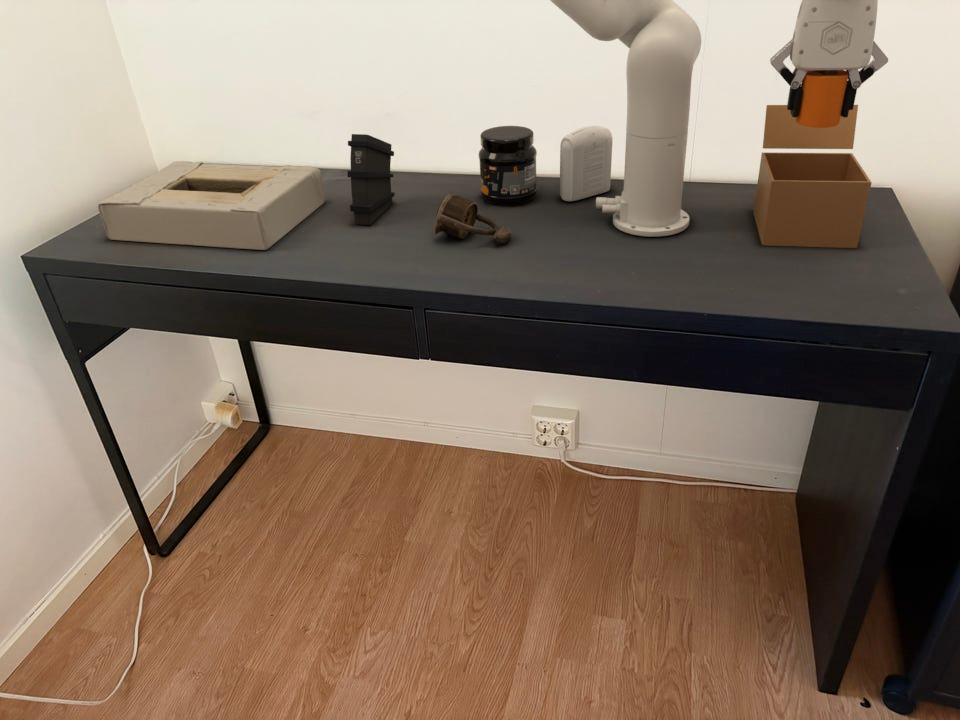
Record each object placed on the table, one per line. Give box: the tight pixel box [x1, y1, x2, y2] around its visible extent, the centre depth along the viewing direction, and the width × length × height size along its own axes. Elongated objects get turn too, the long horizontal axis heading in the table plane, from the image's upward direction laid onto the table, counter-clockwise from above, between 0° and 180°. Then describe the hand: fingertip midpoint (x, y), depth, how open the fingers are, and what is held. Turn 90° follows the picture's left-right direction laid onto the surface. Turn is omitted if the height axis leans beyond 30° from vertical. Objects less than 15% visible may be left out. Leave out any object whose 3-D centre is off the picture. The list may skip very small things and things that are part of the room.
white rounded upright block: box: [559, 125, 613, 202], centre depth 140 cm, size 10×4×12 cm, turn 123°
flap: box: [762, 104, 859, 150], centre depth 124 cm, size 14×7×1 cm
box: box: [97, 160, 326, 251], centre depth 140 cm, size 23×8×32 cm
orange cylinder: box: [795, 70, 849, 128], centre depth 111 cm, size 6×6×9 cm
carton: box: [752, 152, 873, 249], centre depth 122 cm, size 14×14×10 cm
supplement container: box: [478, 125, 538, 206], centre depth 141 cm, size 10×10×12 cm
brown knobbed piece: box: [432, 193, 512, 245], centre depth 127 cm, size 7×13×10 cm
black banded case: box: [347, 133, 396, 226], centre depth 138 cm, size 4×13×15 cm, turn 163°
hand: (818, 113), depth 113 cm, fingers closed on orange cylinder, 6 cm apart
